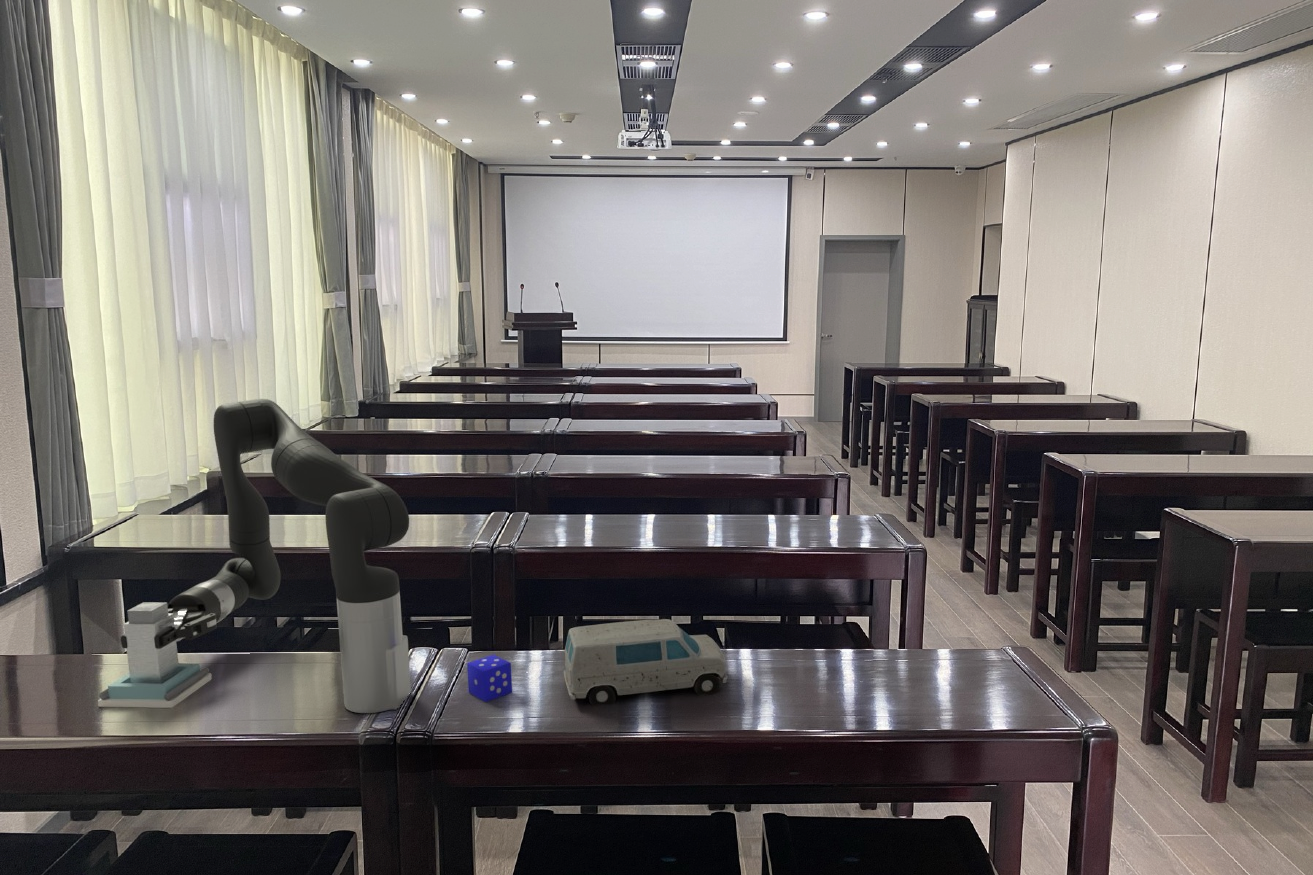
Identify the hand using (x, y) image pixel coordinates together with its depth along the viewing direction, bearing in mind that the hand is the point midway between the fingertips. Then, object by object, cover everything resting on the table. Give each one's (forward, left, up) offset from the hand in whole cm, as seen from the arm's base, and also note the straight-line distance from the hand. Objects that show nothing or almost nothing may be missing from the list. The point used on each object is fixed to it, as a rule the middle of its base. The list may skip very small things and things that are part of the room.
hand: (140, 642), depth 147 cm
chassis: (0, -3, -9) cm, 10 cm away
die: (-54, -5, -10) cm, 55 cm away
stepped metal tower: (0, -3, -7) cm, 8 cm away
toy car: (-78, -7, -10) cm, 79 cm away
